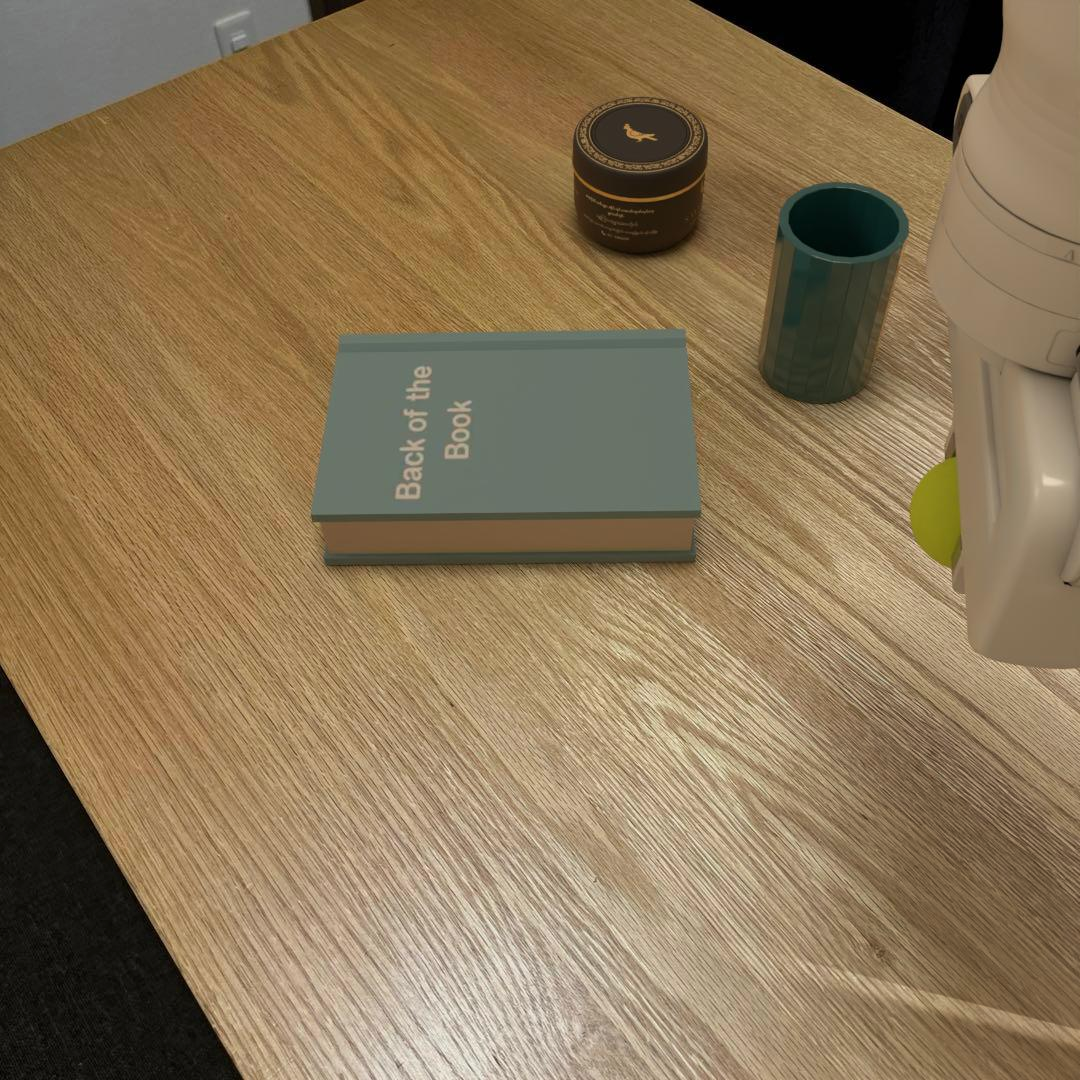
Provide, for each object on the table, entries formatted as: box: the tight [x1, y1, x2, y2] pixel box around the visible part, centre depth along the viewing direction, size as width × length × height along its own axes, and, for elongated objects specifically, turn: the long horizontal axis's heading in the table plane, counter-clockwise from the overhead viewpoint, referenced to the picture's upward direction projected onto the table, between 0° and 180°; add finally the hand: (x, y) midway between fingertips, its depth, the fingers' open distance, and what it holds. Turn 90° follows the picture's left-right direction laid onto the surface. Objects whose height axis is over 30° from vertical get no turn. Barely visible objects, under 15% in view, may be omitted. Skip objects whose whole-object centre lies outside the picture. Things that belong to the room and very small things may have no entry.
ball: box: [909, 457, 961, 569], centre depth 47 cm, size 5×5×5 cm
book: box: [310, 328, 702, 566], centre depth 76 cm, size 23×16×5 cm
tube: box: [757, 181, 910, 405], centre depth 78 cm, size 8×8×12 cm
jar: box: [571, 96, 709, 255], centre depth 89 cm, size 10×10×8 cm
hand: (968, 520), depth 47 cm, fingers closed on ball, 4 cm apart
